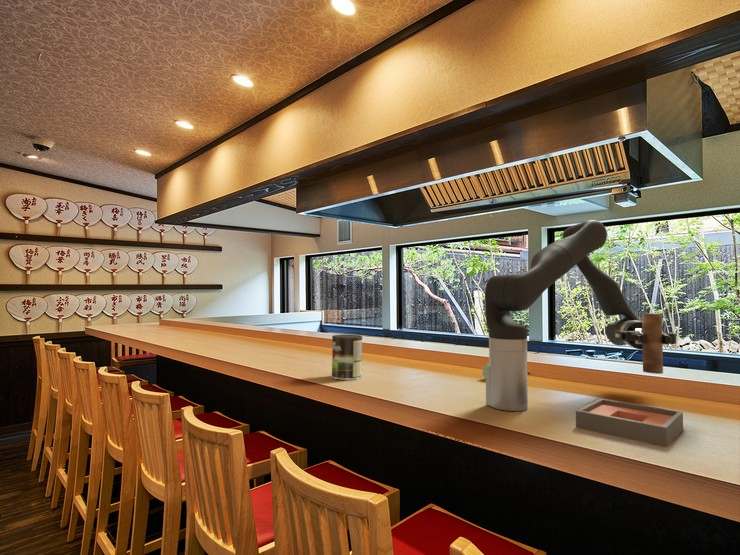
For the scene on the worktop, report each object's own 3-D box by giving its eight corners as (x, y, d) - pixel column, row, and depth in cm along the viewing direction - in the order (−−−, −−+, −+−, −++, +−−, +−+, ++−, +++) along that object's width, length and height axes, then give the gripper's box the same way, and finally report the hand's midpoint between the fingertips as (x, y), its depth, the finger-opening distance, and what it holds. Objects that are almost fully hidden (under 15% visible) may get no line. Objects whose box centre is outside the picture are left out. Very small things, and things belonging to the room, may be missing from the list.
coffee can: (338, 381, 135) (339, 337, 136) (327, 376, 144) (327, 335, 145) (367, 379, 140) (367, 336, 140) (354, 374, 149) (354, 334, 149)
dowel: (641, 371, 100) (640, 313, 101) (645, 370, 103) (644, 313, 104) (660, 374, 97) (659, 314, 98) (664, 372, 100) (663, 313, 101)
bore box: (575, 427, 89) (575, 410, 89) (600, 413, 100) (600, 398, 100) (666, 446, 77) (666, 427, 78) (683, 428, 89) (682, 412, 89)
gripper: (608, 319, 117) (620, 322, 101) (668, 321, 112) (692, 324, 96) (608, 346, 116) (621, 353, 100) (669, 349, 111) (692, 357, 95)
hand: (655, 339), depth 98 cm, fingers closed on dowel, 4 cm apart
